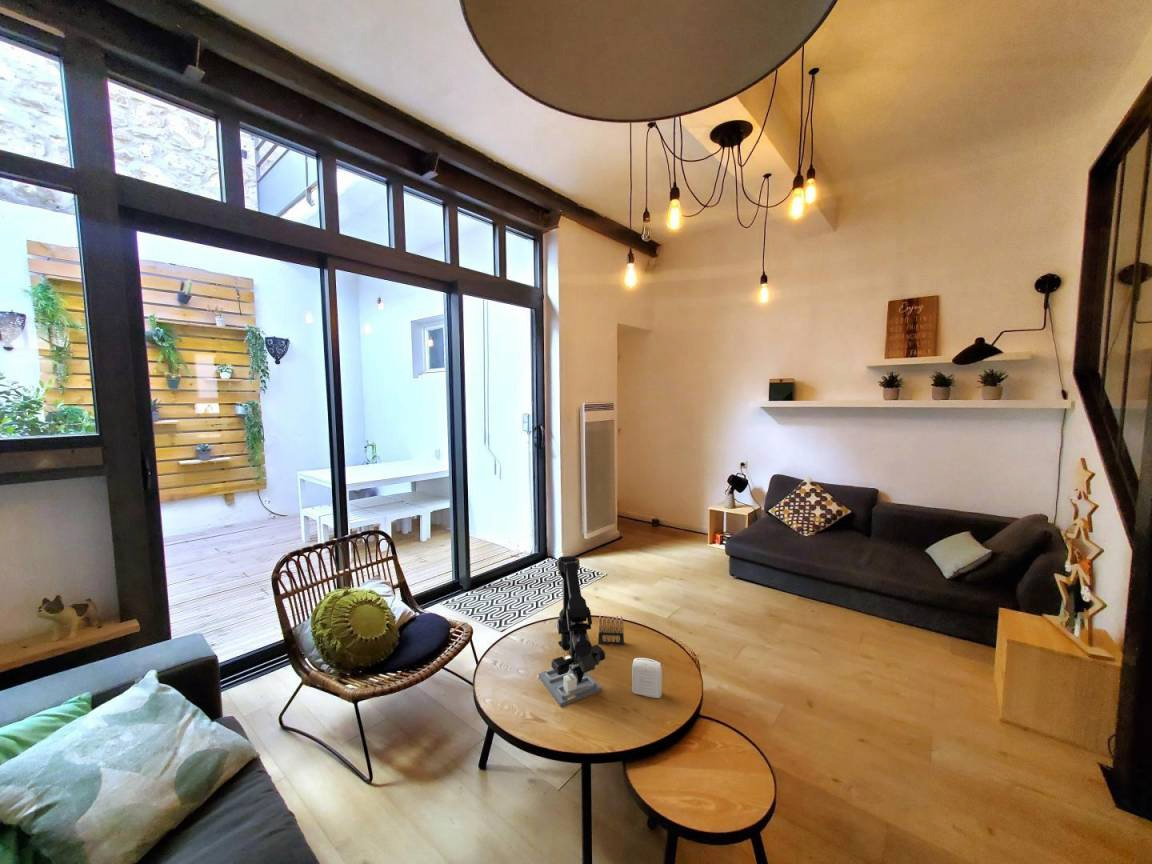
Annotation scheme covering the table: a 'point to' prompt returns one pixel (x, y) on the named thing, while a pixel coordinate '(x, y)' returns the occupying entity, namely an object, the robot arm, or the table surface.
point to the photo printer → (647, 677)
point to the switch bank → (557, 686)
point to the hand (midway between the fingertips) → (579, 682)
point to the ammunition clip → (611, 631)
